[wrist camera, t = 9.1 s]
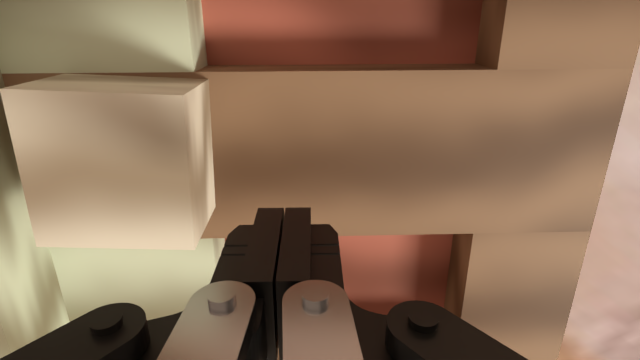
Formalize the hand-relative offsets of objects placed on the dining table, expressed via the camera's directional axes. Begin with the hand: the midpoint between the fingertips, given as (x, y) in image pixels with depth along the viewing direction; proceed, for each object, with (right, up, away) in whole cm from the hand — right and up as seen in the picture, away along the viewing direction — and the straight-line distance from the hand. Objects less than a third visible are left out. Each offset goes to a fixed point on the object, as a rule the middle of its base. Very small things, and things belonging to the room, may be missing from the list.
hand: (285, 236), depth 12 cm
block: (-7, +3, +7) cm, 10 cm away
